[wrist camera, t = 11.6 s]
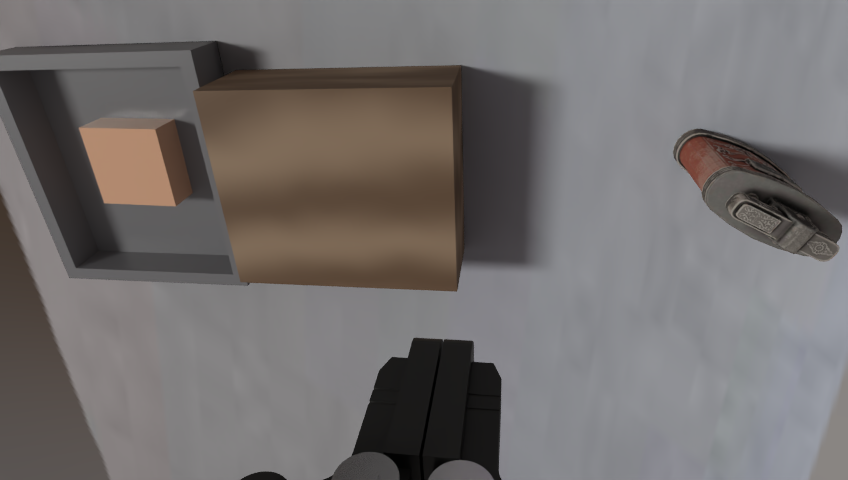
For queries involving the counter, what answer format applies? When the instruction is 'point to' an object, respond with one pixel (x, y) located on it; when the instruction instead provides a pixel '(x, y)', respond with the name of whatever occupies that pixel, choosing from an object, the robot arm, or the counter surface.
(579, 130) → the counter surface
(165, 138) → the tile
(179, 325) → the counter surface
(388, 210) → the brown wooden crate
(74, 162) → the tray
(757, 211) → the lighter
